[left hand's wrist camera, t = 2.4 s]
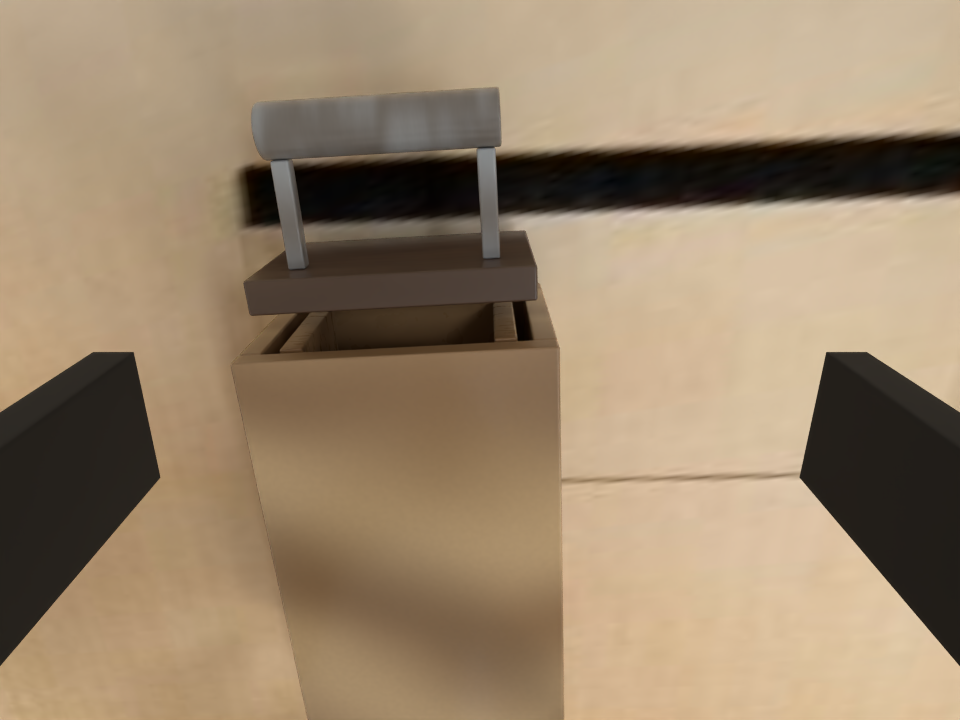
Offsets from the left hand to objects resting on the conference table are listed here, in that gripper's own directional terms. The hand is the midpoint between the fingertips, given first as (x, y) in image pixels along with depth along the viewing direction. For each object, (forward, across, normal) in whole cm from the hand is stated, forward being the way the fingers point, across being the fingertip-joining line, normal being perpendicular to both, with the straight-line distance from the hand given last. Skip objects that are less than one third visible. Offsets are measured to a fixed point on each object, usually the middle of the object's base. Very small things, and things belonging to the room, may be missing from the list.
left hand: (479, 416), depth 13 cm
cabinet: (+16, -2, -12) cm, 20 cm away
